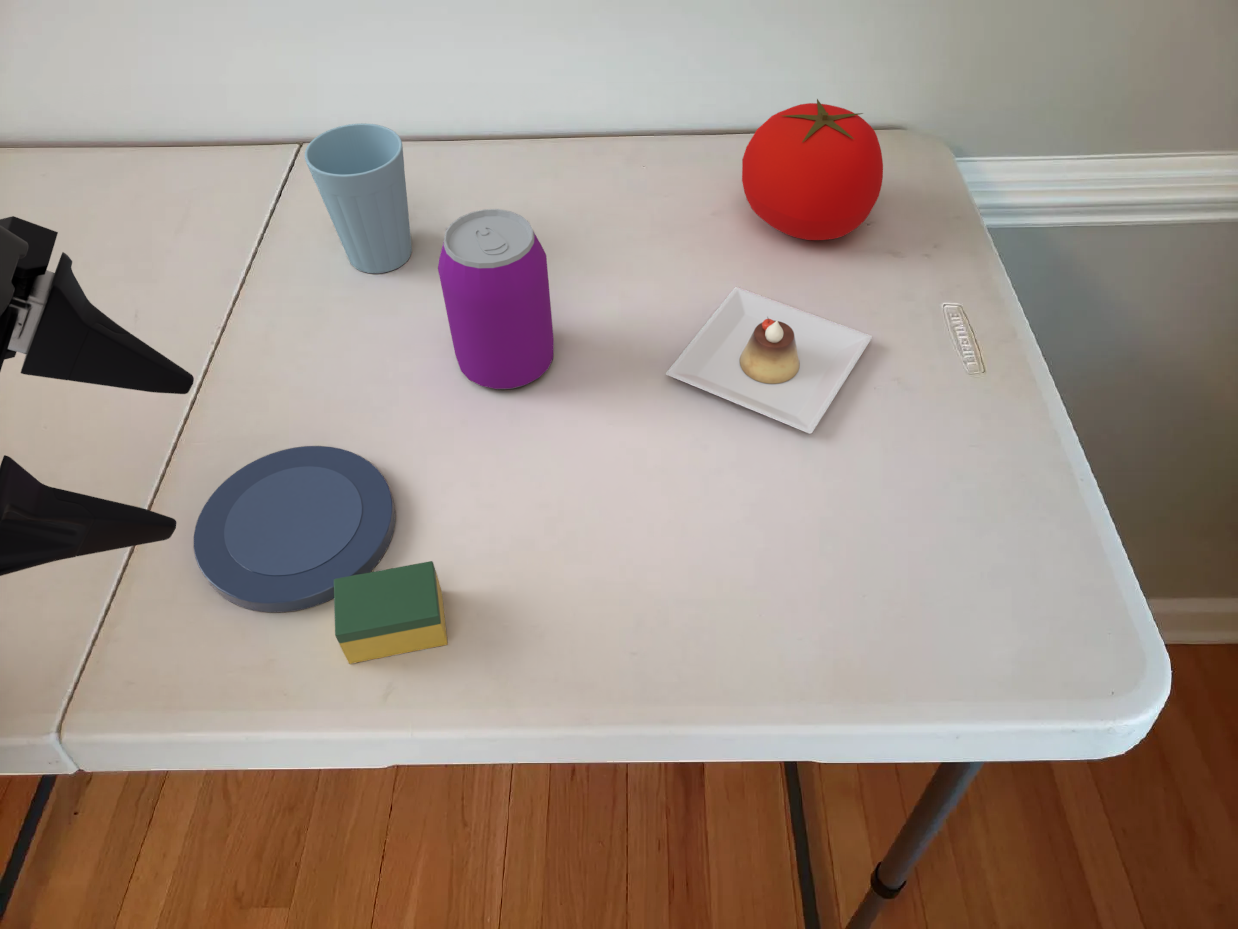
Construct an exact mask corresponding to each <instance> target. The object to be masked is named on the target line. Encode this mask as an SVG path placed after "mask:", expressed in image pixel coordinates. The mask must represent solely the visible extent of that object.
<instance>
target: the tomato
mask: <svg viewBox="0 0 1238 929" xmlns="http://www.w3.org/2000/svg"><path fill="white" fill-rule="evenodd" d="M863 114H864V112H860V113H859V112H857V113H856V112H853V111H852V110H849V109H846V108H844V107H841V106H836V105H832V104H826V103H821V101H820V100H819V98H816V103H815V102H807V103H800V104H797V105H794V106H791V107H788V108H786V109H783V110H781V111H778V112H777V113H775V114H773V115H771V116H770V117H769V118H768V119H767V120H766V121H765V122H764V123H762V125H760V126H759V127H758V128H756V130H755V132H754V134H753V135H752V137H751V138H750V140H749V142H748V144H747V145H746V147H745V150H744V154H743V156H742V160H741V161H742V162H741V163H742V164H741V165H742V166H741V168H742V169H741V183H742V187H743V193H744V195H745V198H746V201H747V202H748V204H749V206H750V208H751V210H752V211H753V212H754V213H755V214H756V216H758V217H759V218H760V219H762V221H764V222H765V223H766V224H768V225H769V226H770V227H772V228H774V229H775V230H777V231H779V232H781V233H783V234H785V235H788V236H790V237H792V238H793V237H794V238H796V239H800V240H806V241H807V240H808V241H825V240H835V239H837V238H842V237H844V236H846V235H848V234H850V233H851V232H853V231H854V230H856V229H857V228H858V227H859V226H861V225H862V224H863V223H864V222H865V221H866V219H867V218H868V216H869V215H870V214H871V212H872V210H873V209H874V207H875V205H876V203H877V201H878V199H879V197H880V194H881V190H882V186H883V178H884V160H883V153H882V148H881V145H880V142H879V138H878V136H877V133H876V130H875V129H874V128H873V126H871V125H870V124H869V123H868V122H867V121H866V120H865V119H864V118H863V117H861V116H860V115H863Z"/></svg>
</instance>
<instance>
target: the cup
mask: <svg viewBox="0 0 1238 929" xmlns="http://www.w3.org/2000/svg"><path fill="white" fill-rule="evenodd" d="M403 148H404V146H403V141H402V138H401V137H400V135H399V134H398V133H397V132H396V131H394V130H393V129H391V128H389V127H386V126H384V125H380V124H375V123H366V122H365V123H363V122H361V123H350V124H343V125H339V126H336V127H332V128H329V129H328V130H326V131H324V132H322V133H320V134H318V135H316V137H314V138H313V139H312V140H311V141H310V142H309V143H308V144H307V146H306V148H305V151H304V160H305V161H304V162H305V163H306V166H307V167H308V170H309V173H310V175H311V177H312V179H313V181H314V183H315V185H316V187H317V190H318V192H319V195H320V197H321V199H322V201H323V204H324V207H325V208H326V210H327V213H328V215H329V217H330V220H331V222H332V224H333V227H334V229H335V231H336V233H337V236H338V238H339V241H340V243H341V245H342V248H343V250H344V253H345V255H346V257H347V259H348V261H349V263H350V265H351V266H352V267H353V268H355V269H356V270H358V271H359V272H363V273H366V274H384V273H388V272H392V271H395V270H397V269H399V268H401V267H402V266H404V264H406V263H407V262H408V261H409V260H410V257H411V255H412V251H413V249H412V237H411V226H410V216H409V206H408V205H409V202H408V194H407V182H406V173H405V172H406V171H405V159H404V149H403Z"/></svg>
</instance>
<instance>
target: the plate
mask: <svg viewBox="0 0 1238 929" xmlns="http://www.w3.org/2000/svg"><path fill="white" fill-rule="evenodd" d="M395 526H396V507H395V501H394V498H393V495H392V492H391V490H390V487H389V484H388V481H387V480H386V478H385V477H384V475H383V474H382V473H381V471H380V470H379V469H378V467H376V466H375V465H374V464H372V462H370V461H369V460H367V459H366V458H364V457H363V456H361V455H359V454H357V453H355V452H352V451H349V450H347V449H343V448H339V447H334V446H325V445H305V446H296V447H290V448H285V449H282V450H278V451H275V452H272V453H269V454H266V455H263V456H261V457H259V458H257V459H255V460H253V461H251V462H249V463H247V464H246V465H244V466H243V467H241V468H239V469H238V470H236V471H235V472H234V473H232V474H231V475H230V476H229V477H228V478H226V479H225V480H224V481H223V482H222V483H221V484H220V485H219V486H218V487H217V488H216V489H215V490H214V492H213V493H212V494H210V496H209V497H208V499H207V501H206V502H205V504H204V505H203V507H202V509H201V511H200V513H199V515H198V518H197V520H196V524H195V527H194V533H193V553H194V558H195V561H196V564H197V566H198V568H199V570H200V571H201V573H202V575H203V576H204V578H205V579H206V581H207V582H208V585H210V586H211V588H212V589H213V590H214V591H215V592H216V593H217V594H218V595H220V596H221V597H222V598H224V599H225V600H226V601H228V602H229V603H232V604H233V605H236V606H239V607H241V608H244V609H247V610H251V611H256V612H261V613H263V612H264V613H290V612H296V611H301V610H307V609H310V608H314V607H316V606H319V605H322V604H325V603H327V602H329V601H331V600H334V579H337V578H342V577H348V576H353V575H359V574H364V573H370V572H373V570H374V569H375V567H376V566H377V565H378V564H379V562H381V559H382V558H383V556H384V555H385V554H386V552H387V550H388V547H389V546H390V543H391V541H392V538H393V535H394V532H395Z"/></svg>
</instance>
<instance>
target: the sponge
mask: <svg viewBox="0 0 1238 929" xmlns="http://www.w3.org/2000/svg"><path fill="white" fill-rule="evenodd" d="M333 606H334V609H333V610H334V636H335V638H336V641H337V642H338V645H339V647H340V649H341V650H342V653H343V655H344V657H345V658H346V661H347V663H348V664H349V665H351V664H356V663H361V662H366V661H372V660H376V659H381V658H382V659H383V658H387V657H391V656H397V655H401V654H407V653H412V652H417V651H422V650H428V649H432V648H437V647H443V646H447V645H448V643H449V642H448V635H447V626H446V616H445V607H444V598H443V591H442V586H441V584H440V580H439V577H438V574H437V571H436V567H435V564H434V561H433V560H430V561H424V562H418V563H414V564H413V563H412V564H407V565H402V566H397V567H392V568H391V567H390V568H387V569H386V568H385V569H381V570H375V571H371V572H370V573H364V574H359V575H353V576H348V577H342V578H337V579H334V599H333Z"/></svg>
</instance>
